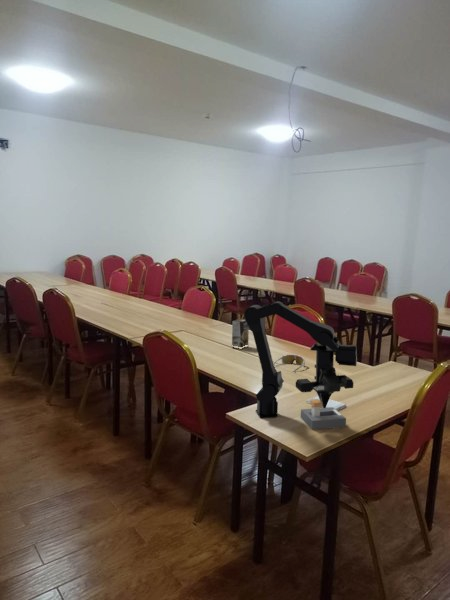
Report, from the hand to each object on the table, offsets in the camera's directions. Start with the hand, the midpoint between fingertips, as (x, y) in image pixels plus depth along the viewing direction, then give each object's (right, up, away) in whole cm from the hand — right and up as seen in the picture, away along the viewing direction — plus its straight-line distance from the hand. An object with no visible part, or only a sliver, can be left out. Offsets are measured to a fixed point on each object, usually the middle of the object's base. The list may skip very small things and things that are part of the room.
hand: (324, 407), depth 148 cm
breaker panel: (0, -5, +1) cm, 5 cm away
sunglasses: (-2, +3, +67) cm, 67 cm away
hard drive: (+5, -4, +17) cm, 18 cm away
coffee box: (-25, +9, +105) cm, 108 cm away
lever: (-3, -4, 0) cm, 5 cm away
